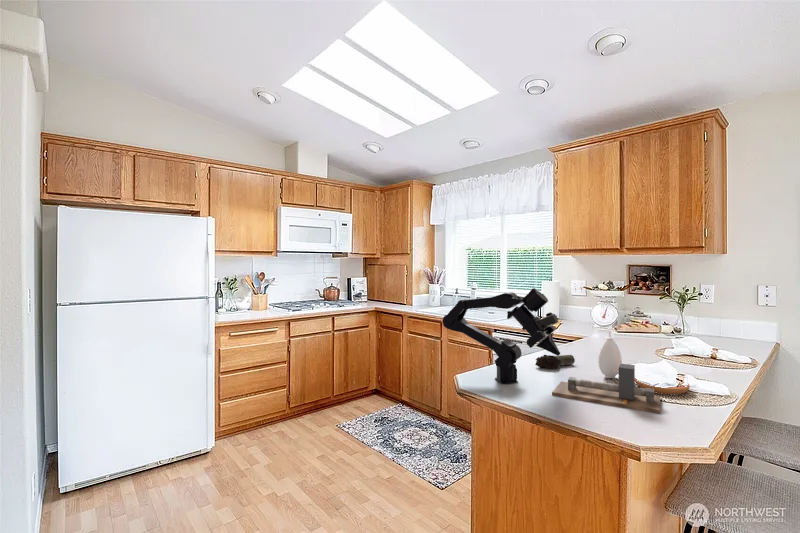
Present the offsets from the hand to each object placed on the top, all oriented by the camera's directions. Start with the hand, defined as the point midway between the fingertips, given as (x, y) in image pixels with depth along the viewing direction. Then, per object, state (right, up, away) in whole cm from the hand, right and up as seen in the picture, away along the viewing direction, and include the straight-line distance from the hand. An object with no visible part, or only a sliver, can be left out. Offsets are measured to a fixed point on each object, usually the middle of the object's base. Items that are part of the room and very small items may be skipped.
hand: (559, 354), depth 137 cm
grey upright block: (+17, -11, -11) cm, 23 cm away
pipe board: (+12, -12, -8) cm, 19 cm away
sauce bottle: (+25, -12, +13) cm, 31 cm away
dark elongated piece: (+11, -12, +30) cm, 34 cm away
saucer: (+35, -12, 0) cm, 38 cm away
